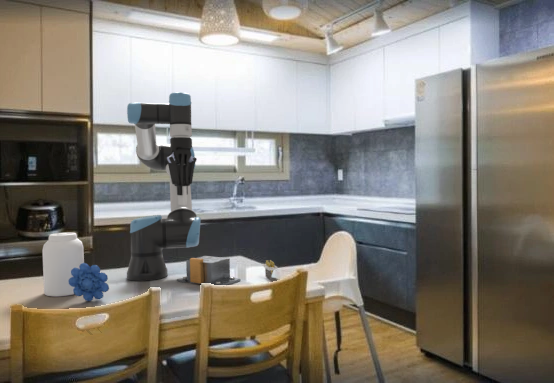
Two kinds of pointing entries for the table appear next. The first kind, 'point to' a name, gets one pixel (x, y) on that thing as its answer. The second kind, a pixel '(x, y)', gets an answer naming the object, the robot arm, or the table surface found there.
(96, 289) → the blue rosette flower
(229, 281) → the bracket
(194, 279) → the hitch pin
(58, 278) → the white jar
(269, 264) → the potted plant
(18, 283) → the table surface
